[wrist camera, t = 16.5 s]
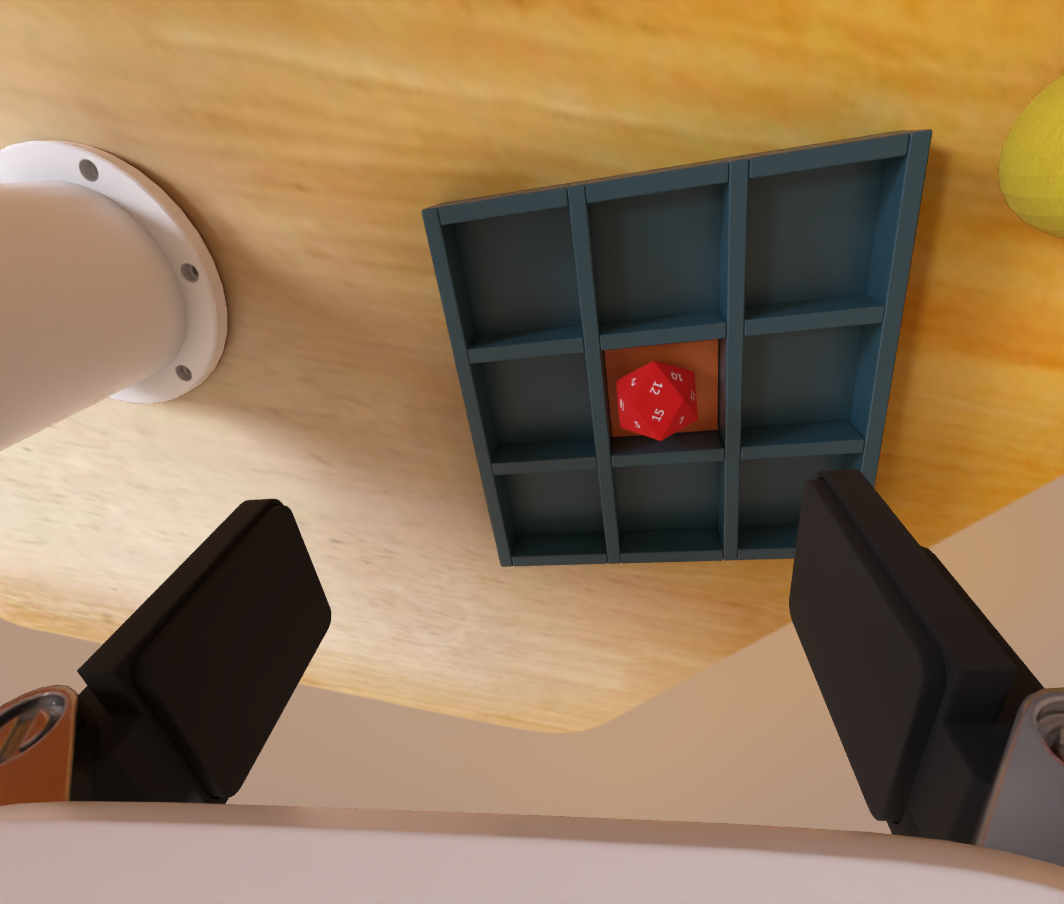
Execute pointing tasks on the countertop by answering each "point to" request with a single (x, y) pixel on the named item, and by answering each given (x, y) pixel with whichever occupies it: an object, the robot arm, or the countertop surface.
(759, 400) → the grid
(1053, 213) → the lemon
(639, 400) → the die
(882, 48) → the countertop surface
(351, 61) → the countertop surface
